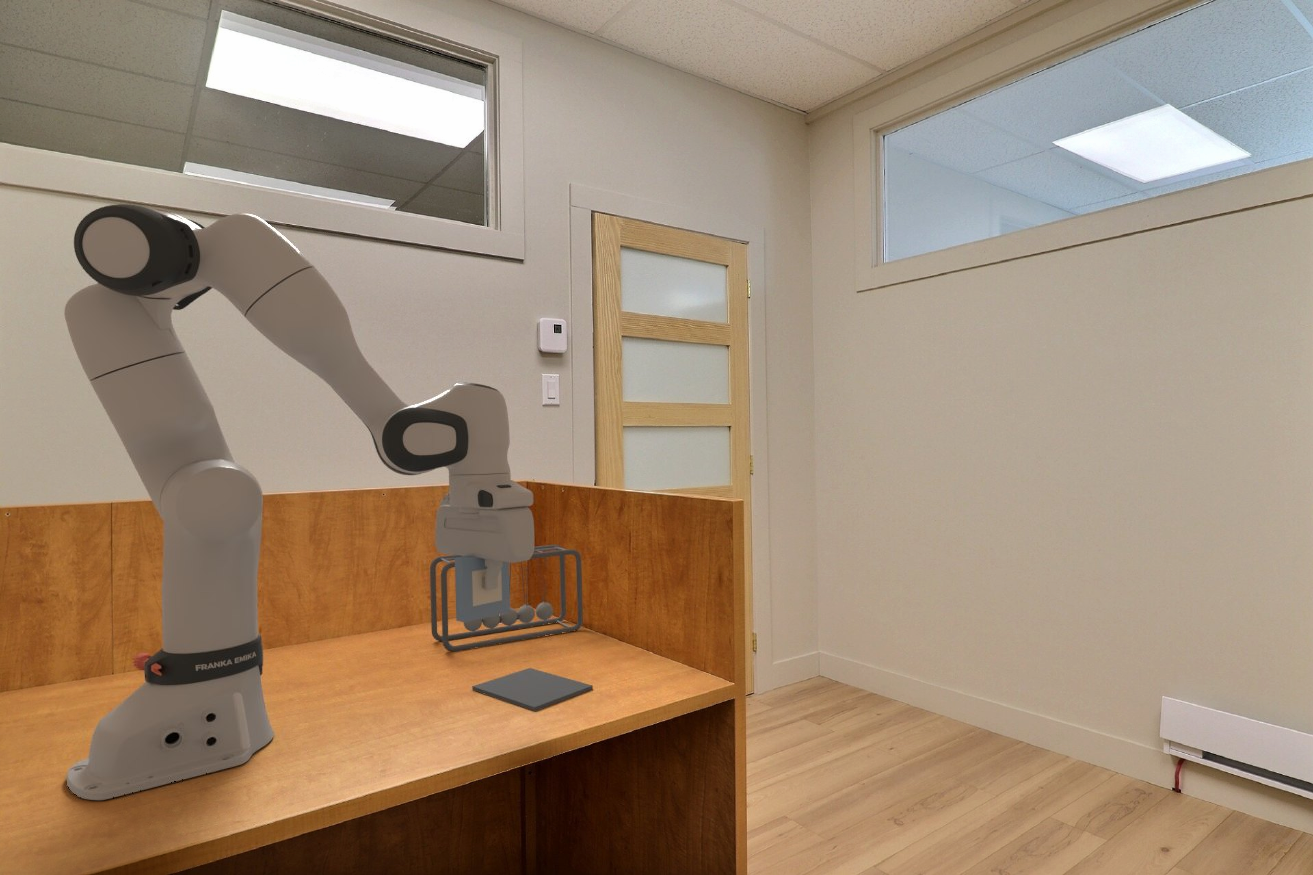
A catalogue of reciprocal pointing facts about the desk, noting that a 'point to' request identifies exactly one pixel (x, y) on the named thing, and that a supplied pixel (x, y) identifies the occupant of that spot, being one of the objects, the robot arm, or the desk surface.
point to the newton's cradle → (510, 618)
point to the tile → (479, 590)
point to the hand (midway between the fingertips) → (482, 588)
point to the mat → (532, 688)
